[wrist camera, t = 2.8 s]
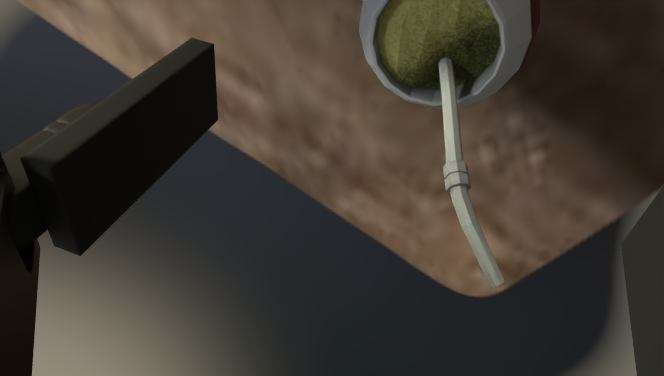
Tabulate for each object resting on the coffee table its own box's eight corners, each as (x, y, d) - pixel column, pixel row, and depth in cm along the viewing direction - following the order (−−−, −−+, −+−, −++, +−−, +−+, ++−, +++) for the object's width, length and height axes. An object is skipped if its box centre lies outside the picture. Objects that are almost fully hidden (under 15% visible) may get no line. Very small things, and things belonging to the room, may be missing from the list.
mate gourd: (410, -116, 23) (269, -10, 12) (590, -81, 21) (618, 76, 10) (382, 38, 28) (264, 213, 17) (526, 75, 26) (499, 292, 15)
